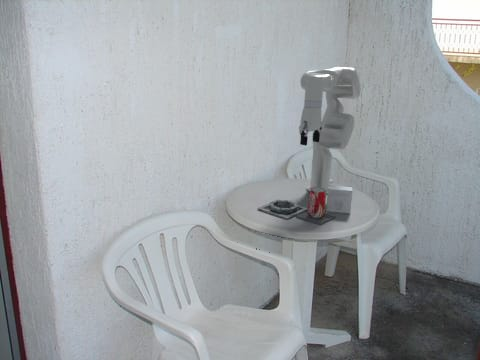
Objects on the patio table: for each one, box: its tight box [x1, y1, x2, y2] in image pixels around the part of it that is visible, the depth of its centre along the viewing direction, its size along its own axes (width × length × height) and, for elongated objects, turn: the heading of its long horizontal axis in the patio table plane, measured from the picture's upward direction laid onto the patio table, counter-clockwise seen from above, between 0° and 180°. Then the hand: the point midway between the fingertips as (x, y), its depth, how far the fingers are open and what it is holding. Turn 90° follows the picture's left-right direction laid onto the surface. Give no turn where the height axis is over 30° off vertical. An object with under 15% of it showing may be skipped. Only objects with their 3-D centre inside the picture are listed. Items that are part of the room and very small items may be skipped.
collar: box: [257, 199, 308, 220], centre depth 202 cm, size 16×16×2 cm
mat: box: [295, 211, 337, 226], centre depth 195 cm, size 12×12×1 cm
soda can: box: [307, 187, 327, 218], centre depth 193 cm, size 7×7×12 cm
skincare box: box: [325, 184, 353, 214], centre depth 203 cm, size 10×6×10 cm, turn 78°
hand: (309, 143), depth 203 cm, fingers open, 9 cm apart
